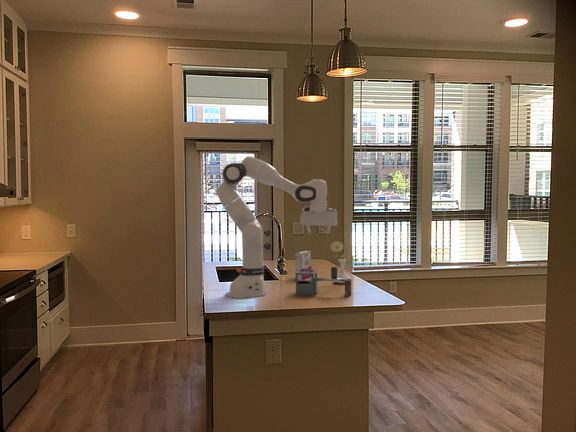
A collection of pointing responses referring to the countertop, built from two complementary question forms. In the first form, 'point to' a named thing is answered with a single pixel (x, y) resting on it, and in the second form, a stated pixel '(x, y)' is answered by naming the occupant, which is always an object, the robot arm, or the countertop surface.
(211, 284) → the countertop surface
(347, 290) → the rod cradle
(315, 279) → the rod
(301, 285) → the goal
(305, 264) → the candy bar box
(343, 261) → the flower in vase
